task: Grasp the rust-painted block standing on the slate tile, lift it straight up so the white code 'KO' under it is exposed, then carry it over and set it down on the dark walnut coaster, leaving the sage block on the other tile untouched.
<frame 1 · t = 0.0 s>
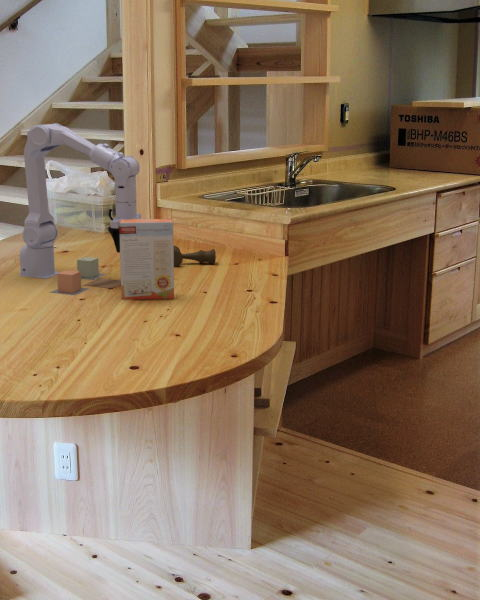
hand: (127, 249, 222), 10 cm above the countertop, fingers open, 7 cm apart
sage block: (88, 275, 233), resting on tile ZA
walnut coaster: (105, 284, 224), on the countertop
tile ZA: (88, 276, 233), on the countertop
rust block: (69, 290, 216), resting on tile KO
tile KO: (69, 291, 216), on the countertop
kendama: (184, 265, 251), on the countertop
cracker box: (147, 298, 212), on the countertop
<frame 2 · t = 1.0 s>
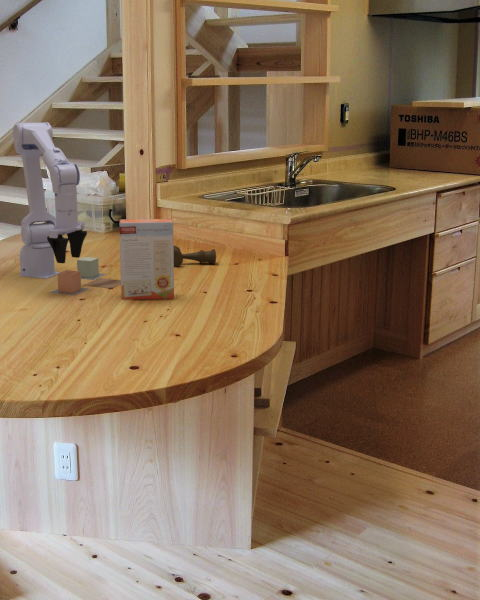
hand: (68, 260, 213), 9 cm above the countertop, fingers open, 7 cm apart
nothing on the countertop moved.
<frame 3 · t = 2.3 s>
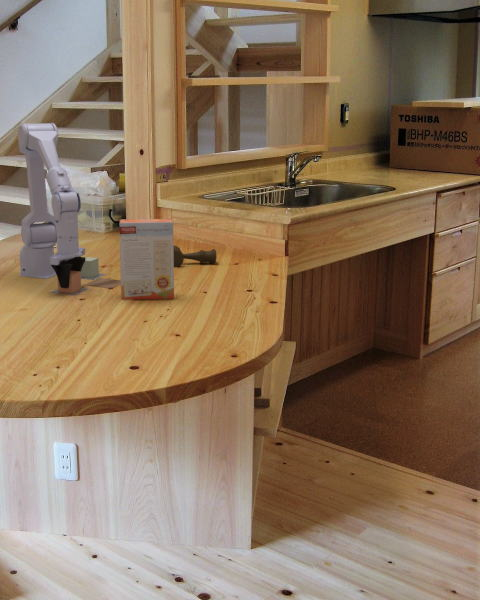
hand: (69, 285, 215), 2 cm above the countertop, fingers closed on rust block, 4 cm apart
rust block: (69, 290, 216), resting on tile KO, touching gripper
everything else where it was.
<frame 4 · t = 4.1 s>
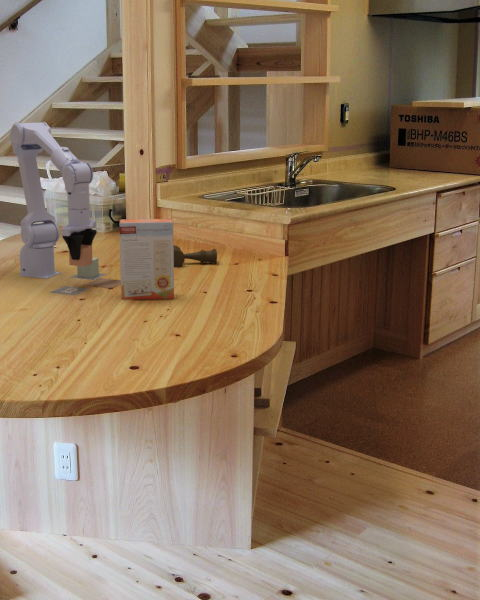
hand: (80, 257, 216), 9 cm above the countertop, fingers closed on rust block, 4 cm apart
rust block: (81, 264, 217), point 7 cm above the countertop, touching gripper
everything else where it was.
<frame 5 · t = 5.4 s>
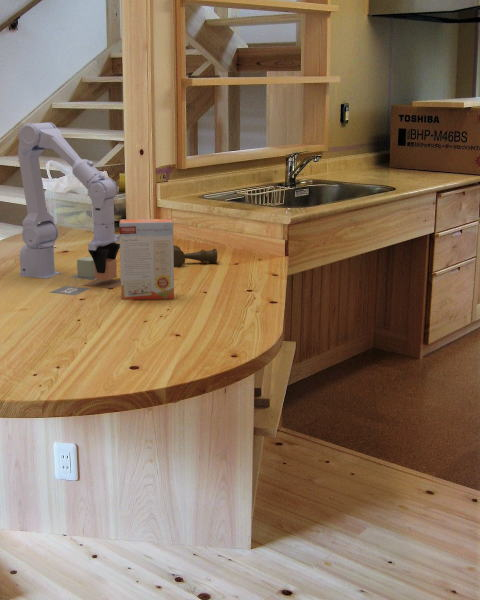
hand: (105, 270, 223), 4 cm above the countertop, fingers closed on rust block, 4 cm apart
rust block: (105, 277, 224), point 2 cm above the countertop, touching gripper
everything else where it was.
when the fingers open (3 cm above the countertop, at t = 6.1 s): rust block stays where it is, resting on walnut coaster.
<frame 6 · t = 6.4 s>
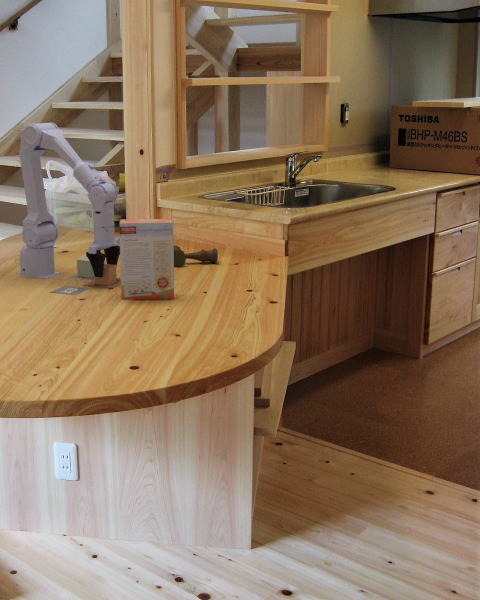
hand: (105, 274, 223), 3 cm above the countertop, fingers open, 7 cm apart
rust block: (105, 282, 224), resting on walnut coaster
everything else where it was.
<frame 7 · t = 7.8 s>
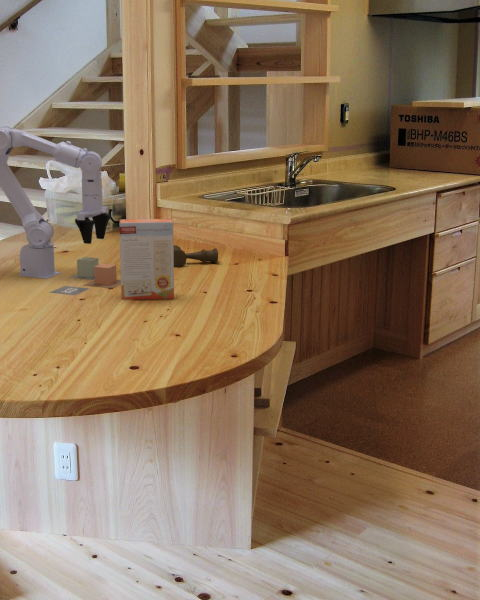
hand: (94, 241, 231), 10 cm above the countertop, fingers open, 7 cm apart
nothing on the countertop moved.
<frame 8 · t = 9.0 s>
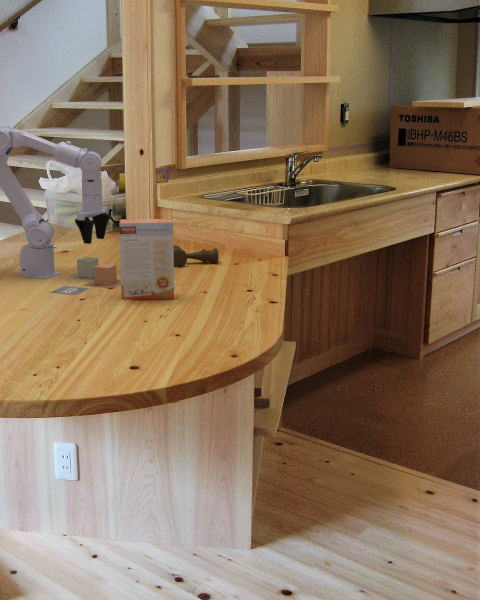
hand: (94, 241, 231), 10 cm above the countertop, fingers open, 7 cm apart
at the end: rust block inside the target area on the walnut coaster (0.0 cm from its centre), point 0.4 cm above the walnut coaster's base; rust block tilted 0°; the gripper is holding nothing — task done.
